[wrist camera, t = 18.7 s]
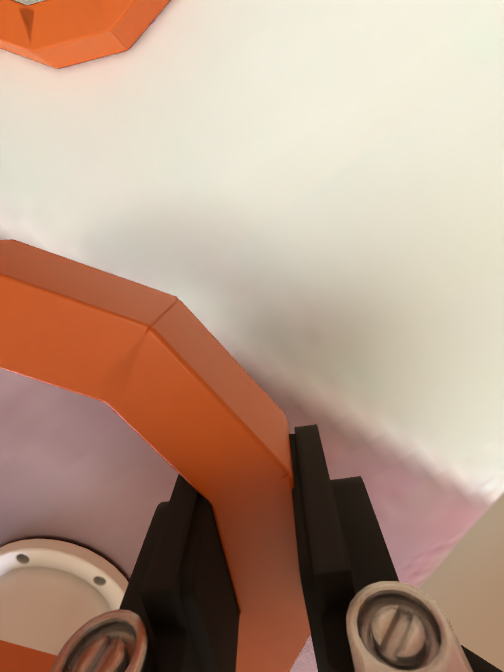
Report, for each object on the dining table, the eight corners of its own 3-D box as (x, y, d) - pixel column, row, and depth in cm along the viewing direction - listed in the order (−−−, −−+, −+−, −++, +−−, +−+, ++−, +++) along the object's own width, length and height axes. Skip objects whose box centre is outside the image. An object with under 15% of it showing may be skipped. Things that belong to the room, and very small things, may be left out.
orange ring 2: (330, 667, 11) (345, 769, 9) (-82, 703, 13) (-151, 801, 11) (246, 191, 8) (239, 183, 5) (-340, 308, 9) (-531, 338, 7)
